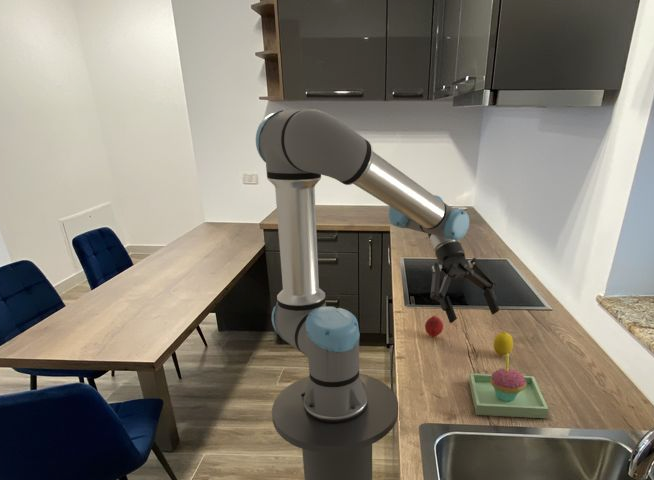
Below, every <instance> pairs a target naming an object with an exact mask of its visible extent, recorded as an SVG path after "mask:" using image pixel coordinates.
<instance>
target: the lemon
mask: <svg viewBox="0 0 654 480" xmlns="http://www.w3.org/2000/svg"><path fill="white" fill-rule="evenodd" d="M513 347H514V339H513V337H512V336H511V334H510V333H508V332H507V331H502V332H499V333H497V334H496V335H495V337H494V340H493V349H494V351H495V353H496V354H498V355H500V357H504V356H506V354H507V351H508V354H509V355H510V353H511V351H512V350H513Z"/></svg>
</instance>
